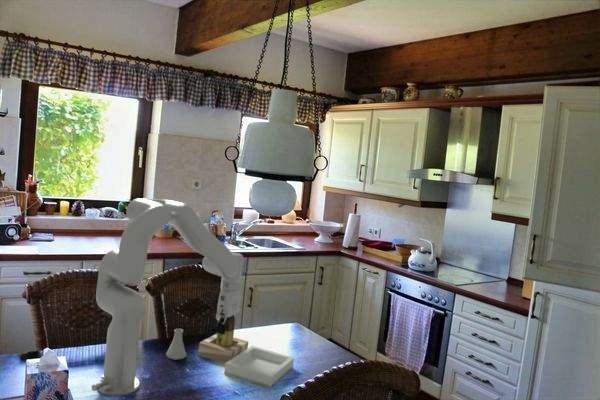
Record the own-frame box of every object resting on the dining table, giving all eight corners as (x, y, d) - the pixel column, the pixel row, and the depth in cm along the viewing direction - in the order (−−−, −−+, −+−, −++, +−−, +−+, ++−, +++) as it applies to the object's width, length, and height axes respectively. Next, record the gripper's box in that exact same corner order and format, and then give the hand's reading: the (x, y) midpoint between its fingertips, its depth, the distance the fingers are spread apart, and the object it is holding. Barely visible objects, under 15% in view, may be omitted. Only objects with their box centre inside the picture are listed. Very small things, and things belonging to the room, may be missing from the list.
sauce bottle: (213, 351, 194) (219, 301, 192) (229, 351, 196) (235, 302, 194) (216, 358, 188) (221, 306, 186) (232, 358, 190) (238, 307, 188)
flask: (174, 361, 181) (177, 335, 180) (162, 355, 185) (164, 329, 184) (190, 357, 186) (192, 331, 185) (177, 350, 191) (180, 325, 190)
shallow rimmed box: (230, 365, 183) (231, 352, 183) (198, 355, 188) (199, 342, 188) (247, 353, 195) (248, 341, 195) (216, 344, 200) (217, 332, 200)
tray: (269, 388, 169) (271, 377, 168) (224, 374, 176) (225, 363, 175) (292, 368, 187) (294, 357, 187) (250, 355, 194) (252, 345, 194)
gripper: (227, 292, 180) (222, 340, 182) (250, 283, 196) (244, 327, 198) (209, 287, 183) (204, 335, 184) (233, 279, 199) (228, 322, 200)
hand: (225, 330), depth 191 cm, fingers closed on sauce bottle, 6 cm apart
